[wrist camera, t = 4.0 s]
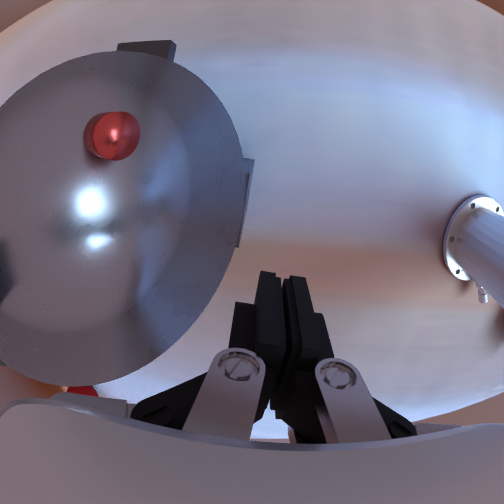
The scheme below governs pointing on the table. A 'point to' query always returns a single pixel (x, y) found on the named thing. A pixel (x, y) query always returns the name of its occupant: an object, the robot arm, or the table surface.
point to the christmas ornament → (83, 390)
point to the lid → (112, 214)
